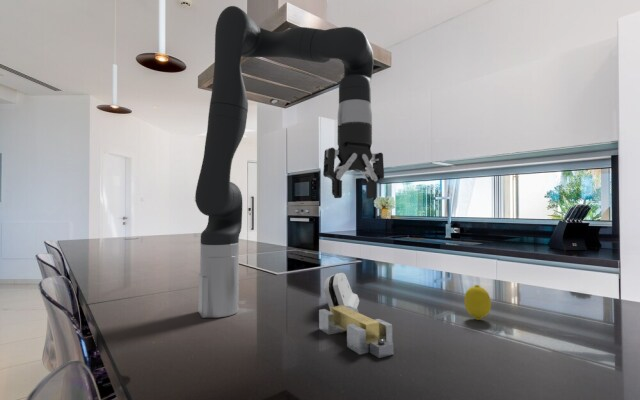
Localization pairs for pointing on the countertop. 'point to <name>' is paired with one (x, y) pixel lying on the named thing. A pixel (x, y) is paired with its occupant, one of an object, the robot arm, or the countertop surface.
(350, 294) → the white rounded housing
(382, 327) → the linkage with metal pins
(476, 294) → the lemon
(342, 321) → the link bar
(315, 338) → the countertop surface
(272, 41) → the robot arm
